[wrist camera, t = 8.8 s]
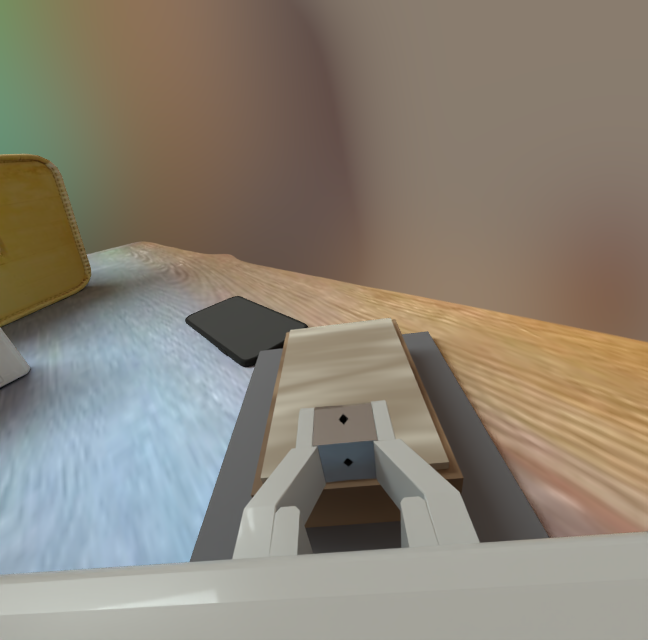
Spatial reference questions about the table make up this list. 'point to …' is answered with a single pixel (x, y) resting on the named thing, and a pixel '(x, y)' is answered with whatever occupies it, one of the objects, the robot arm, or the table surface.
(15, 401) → the table surface
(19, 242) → the picnic basket
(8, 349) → the photo printer
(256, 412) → the mat
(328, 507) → the wooden block
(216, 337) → the smartphone
